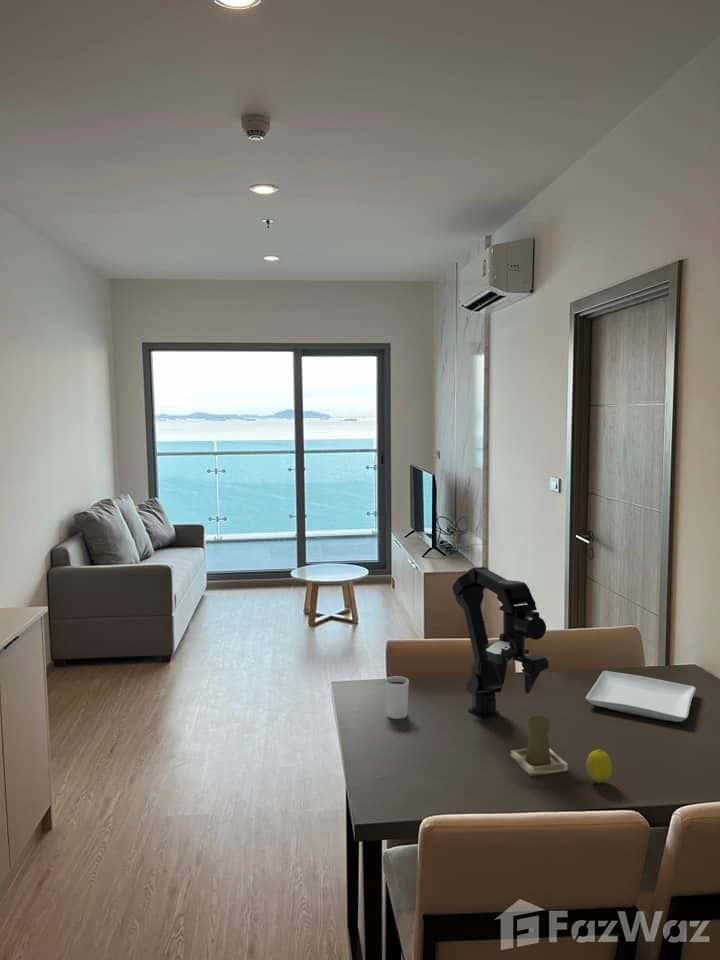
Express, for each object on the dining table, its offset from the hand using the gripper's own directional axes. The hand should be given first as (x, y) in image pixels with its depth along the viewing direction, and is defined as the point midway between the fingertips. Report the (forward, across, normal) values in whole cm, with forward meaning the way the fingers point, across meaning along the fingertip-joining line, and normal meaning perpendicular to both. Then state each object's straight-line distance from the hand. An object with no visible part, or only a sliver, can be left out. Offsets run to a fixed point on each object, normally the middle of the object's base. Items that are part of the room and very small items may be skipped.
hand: (514, 688), depth 191 cm
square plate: (+13, +5, +48) cm, 50 cm away
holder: (+14, +14, -6) cm, 20 cm away
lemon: (+14, +28, -2) cm, 31 cm away
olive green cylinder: (+13, +14, -6) cm, 20 cm away
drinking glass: (+12, -29, -18) cm, 36 cm away
